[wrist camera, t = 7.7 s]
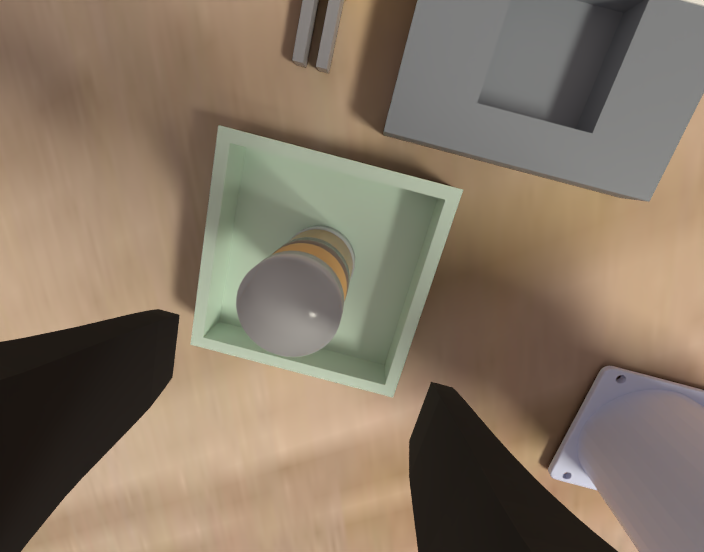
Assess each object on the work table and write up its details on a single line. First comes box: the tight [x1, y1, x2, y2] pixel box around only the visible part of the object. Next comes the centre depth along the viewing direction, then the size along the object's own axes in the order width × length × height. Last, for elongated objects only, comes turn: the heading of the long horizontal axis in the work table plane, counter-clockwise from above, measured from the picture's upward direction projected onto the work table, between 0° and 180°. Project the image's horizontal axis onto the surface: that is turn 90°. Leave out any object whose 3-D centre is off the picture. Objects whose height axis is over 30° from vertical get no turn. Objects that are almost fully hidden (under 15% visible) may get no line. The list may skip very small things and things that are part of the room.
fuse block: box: [383, 0, 704, 202], centre depth 15 cm, size 12×9×2 cm
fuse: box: [236, 225, 355, 357], centre depth 16 cm, size 4×4×7 cm
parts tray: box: [191, 125, 463, 397], centre depth 19 cm, size 11×11×2 cm
